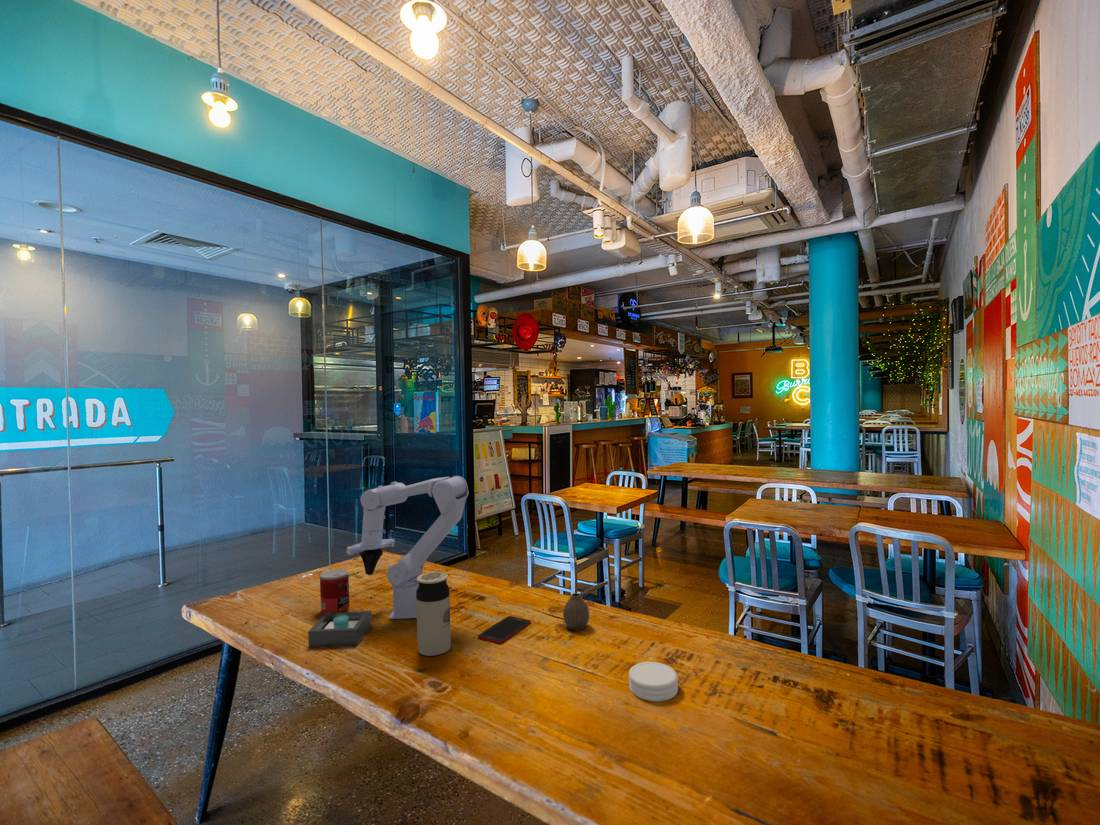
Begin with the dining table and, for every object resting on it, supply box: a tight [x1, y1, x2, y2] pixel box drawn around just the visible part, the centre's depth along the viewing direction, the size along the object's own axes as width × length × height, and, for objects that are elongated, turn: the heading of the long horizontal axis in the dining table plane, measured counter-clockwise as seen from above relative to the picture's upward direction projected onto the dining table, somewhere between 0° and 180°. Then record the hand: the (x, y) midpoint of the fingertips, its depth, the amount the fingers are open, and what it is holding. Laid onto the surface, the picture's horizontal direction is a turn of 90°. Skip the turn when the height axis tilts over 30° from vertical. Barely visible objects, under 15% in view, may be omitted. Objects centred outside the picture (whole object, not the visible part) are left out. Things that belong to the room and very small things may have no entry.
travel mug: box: [416, 571, 452, 657], centre depth 128 cm, size 8×8×18 cm
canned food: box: [319, 568, 350, 615], centre depth 154 cm, size 8×8×11 cm
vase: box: [562, 592, 590, 631], centre depth 139 cm, size 7×7×9 cm
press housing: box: [307, 610, 372, 648], centre depth 137 cm, size 12×12×4 cm
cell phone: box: [477, 615, 532, 645], centre depth 138 cm, size 8×15×1 cm, turn 150°
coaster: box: [628, 661, 679, 702], centre depth 108 cm, size 10×10×4 cm
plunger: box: [324, 616, 359, 629], centre depth 137 cm, size 9×9×4 cm
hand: (369, 573), depth 154 cm, fingers closed
